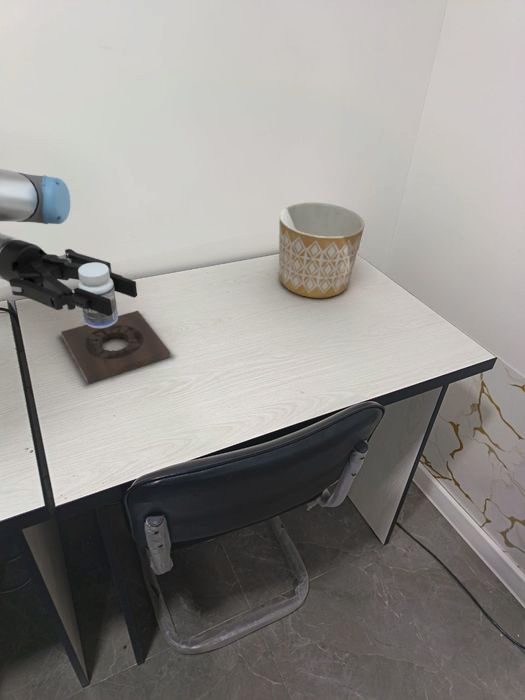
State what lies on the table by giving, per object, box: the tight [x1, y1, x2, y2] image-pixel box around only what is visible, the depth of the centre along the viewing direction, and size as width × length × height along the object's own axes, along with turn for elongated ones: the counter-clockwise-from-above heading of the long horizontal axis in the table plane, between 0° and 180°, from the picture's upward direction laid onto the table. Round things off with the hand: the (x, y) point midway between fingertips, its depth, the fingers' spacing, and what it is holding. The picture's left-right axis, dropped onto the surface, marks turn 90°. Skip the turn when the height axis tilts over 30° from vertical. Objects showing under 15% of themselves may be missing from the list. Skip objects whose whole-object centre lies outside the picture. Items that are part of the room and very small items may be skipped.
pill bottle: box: [77, 262, 119, 328], centre depth 80 cm, size 6×6×10 cm
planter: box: [278, 202, 366, 299], centre depth 117 cm, size 19×19×16 cm
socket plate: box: [60, 310, 171, 385], centre depth 97 cm, size 16×16×2 cm
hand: (122, 298), depth 78 cm, fingers closed on pill bottle, 5 cm apart
